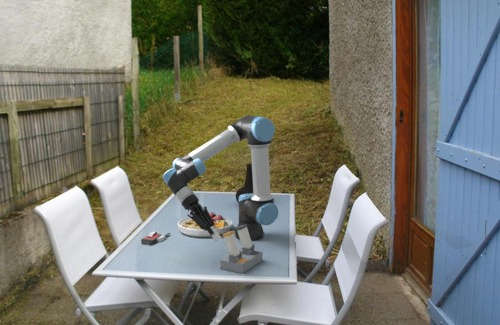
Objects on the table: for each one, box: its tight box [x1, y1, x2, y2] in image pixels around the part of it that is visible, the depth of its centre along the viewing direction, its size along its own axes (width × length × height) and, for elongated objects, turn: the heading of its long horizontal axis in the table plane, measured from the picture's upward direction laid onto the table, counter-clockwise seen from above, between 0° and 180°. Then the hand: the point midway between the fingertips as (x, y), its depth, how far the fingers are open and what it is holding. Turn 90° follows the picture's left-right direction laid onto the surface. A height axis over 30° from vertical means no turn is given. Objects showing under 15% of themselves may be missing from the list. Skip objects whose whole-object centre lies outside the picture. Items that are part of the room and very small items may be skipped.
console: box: [220, 243, 263, 274], centre depth 238 cm, size 11×19×7 cm, turn 152°
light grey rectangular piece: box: [235, 224, 253, 251], centre depth 243 cm, size 3×5×12 cm, turn 153°
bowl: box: [177, 211, 233, 238], centre depth 292 cm, size 30×30×8 cm
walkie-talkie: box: [140, 231, 171, 246], centre depth 274 cm, size 9×4×20 cm
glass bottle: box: [235, 163, 253, 204], centre depth 351 cm, size 18×18×28 cm
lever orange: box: [222, 230, 240, 259], centre depth 233 cm, size 3×5×12 cm, turn 152°
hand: (218, 239), depth 235 cm, fingers closed
